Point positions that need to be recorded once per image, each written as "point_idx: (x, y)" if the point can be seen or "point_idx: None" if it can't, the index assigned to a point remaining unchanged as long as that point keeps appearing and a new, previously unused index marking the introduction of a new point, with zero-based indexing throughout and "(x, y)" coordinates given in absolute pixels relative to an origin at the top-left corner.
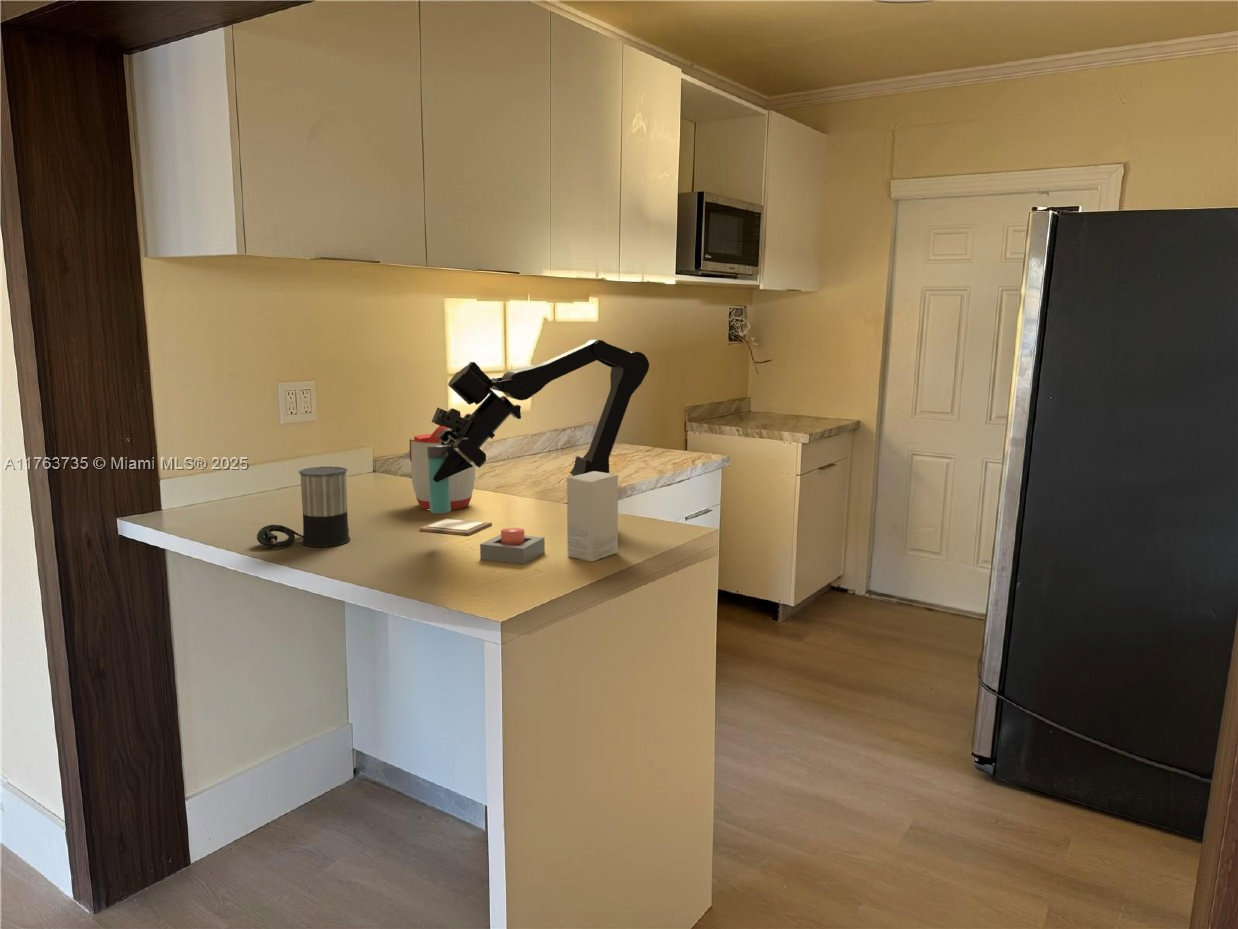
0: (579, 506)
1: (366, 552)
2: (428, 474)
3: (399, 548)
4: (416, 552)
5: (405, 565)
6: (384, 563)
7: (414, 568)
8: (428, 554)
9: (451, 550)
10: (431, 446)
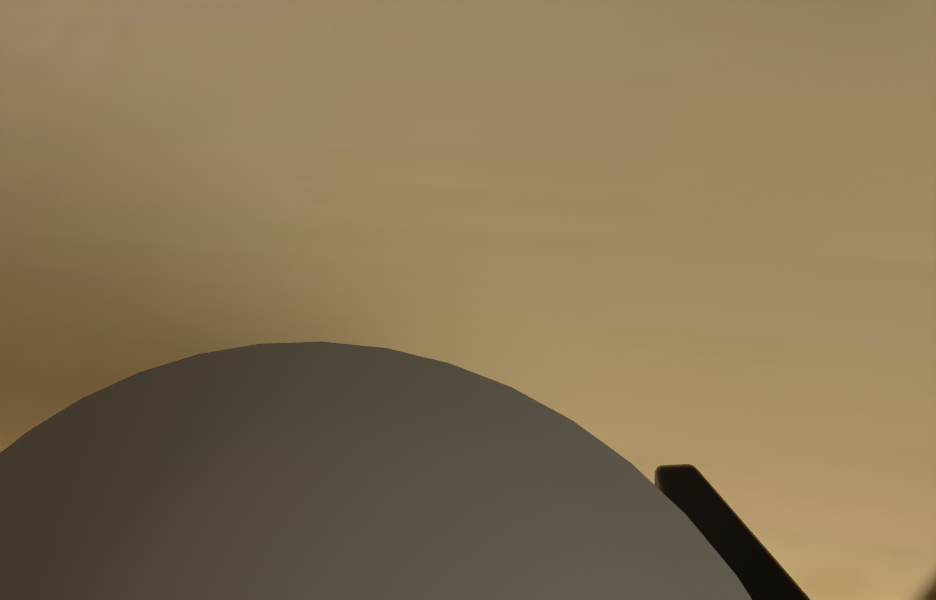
0: None
1: (494, 53)
2: (682, 466)
3: (528, 250)
4: (385, 347)
5: (118, 255)
6: (207, 146)
7: (38, 298)
8: None
9: None
10: (341, 558)
